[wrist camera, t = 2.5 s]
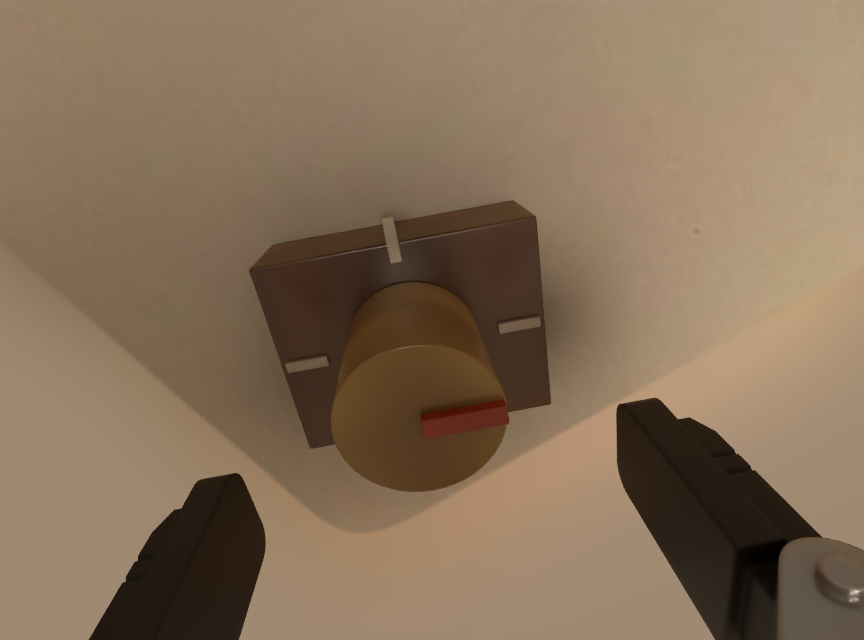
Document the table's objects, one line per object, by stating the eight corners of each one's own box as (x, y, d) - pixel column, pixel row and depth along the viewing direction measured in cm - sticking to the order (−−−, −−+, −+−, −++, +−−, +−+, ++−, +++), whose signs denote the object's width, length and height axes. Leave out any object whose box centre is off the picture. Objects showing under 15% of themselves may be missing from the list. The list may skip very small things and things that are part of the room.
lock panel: (326, 419, 20) (314, 470, 17) (264, 223, 17) (237, 245, 14) (531, 381, 20) (554, 425, 17) (511, 177, 17) (536, 190, 14)
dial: (363, 409, 17) (352, 514, 12) (332, 295, 15) (306, 370, 11) (485, 387, 17) (518, 484, 12) (468, 270, 15) (500, 333, 11)
